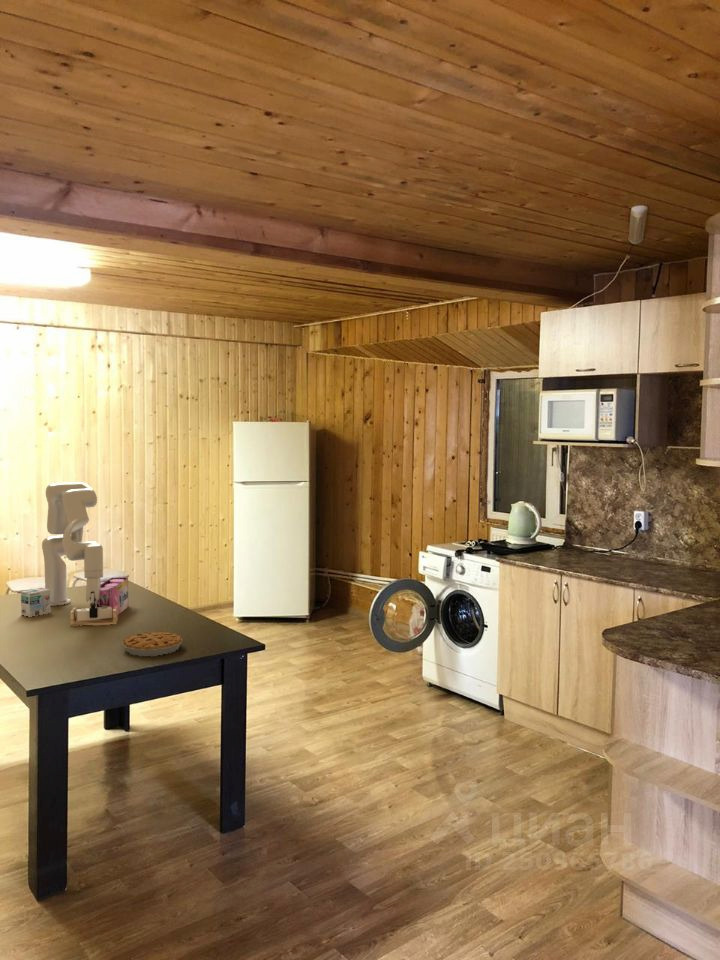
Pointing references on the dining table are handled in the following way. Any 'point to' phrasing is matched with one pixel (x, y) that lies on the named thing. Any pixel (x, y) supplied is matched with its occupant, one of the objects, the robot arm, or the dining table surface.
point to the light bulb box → (35, 602)
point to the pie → (152, 643)
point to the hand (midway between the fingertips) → (94, 615)
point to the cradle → (94, 622)
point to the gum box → (114, 594)
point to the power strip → (102, 613)
